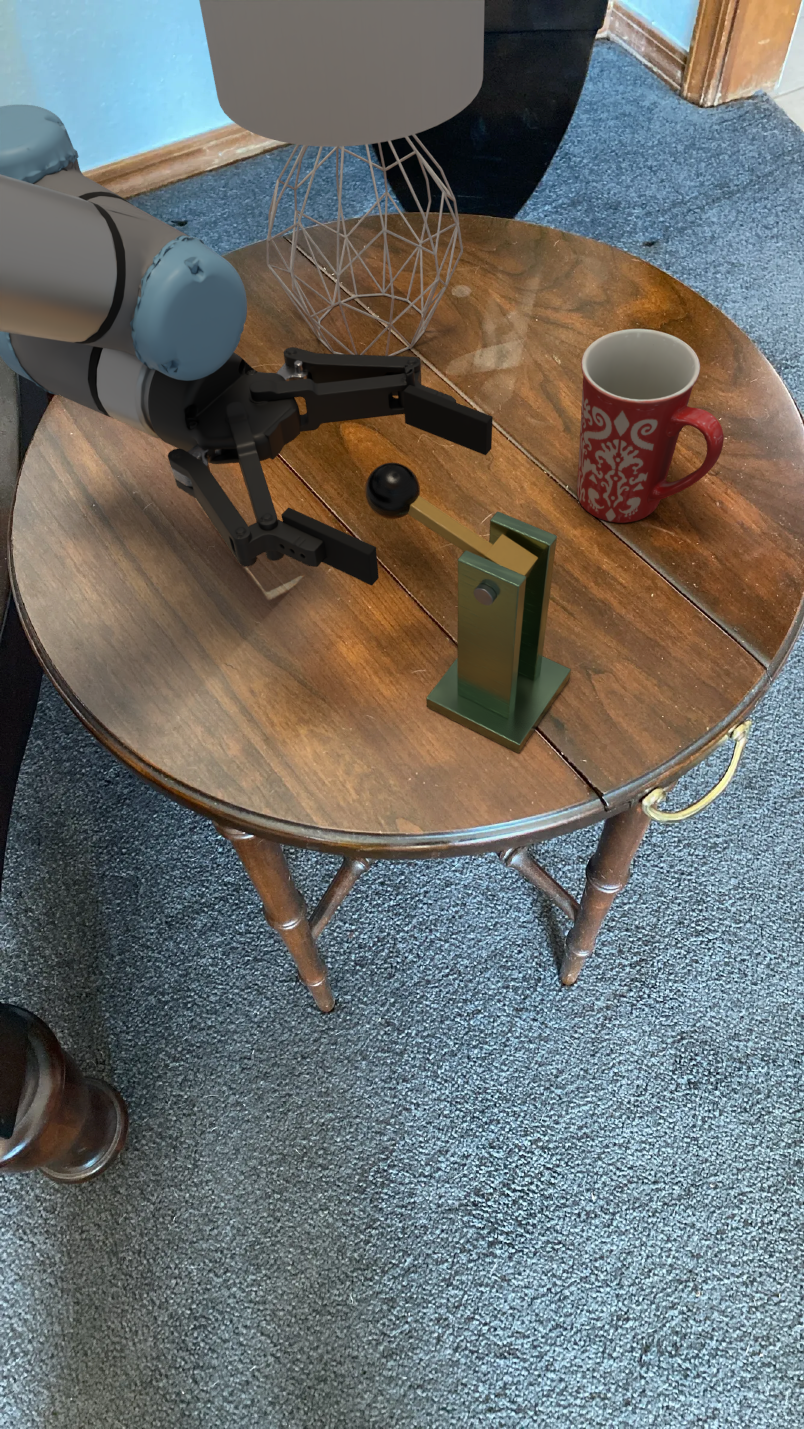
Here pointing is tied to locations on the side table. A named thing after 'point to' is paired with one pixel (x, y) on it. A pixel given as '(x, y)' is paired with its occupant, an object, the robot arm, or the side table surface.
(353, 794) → the side table surface
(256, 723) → the side table surface
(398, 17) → the table lamp
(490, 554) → the switch lever
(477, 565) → the switch bracket
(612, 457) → the mug
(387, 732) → the side table surface
